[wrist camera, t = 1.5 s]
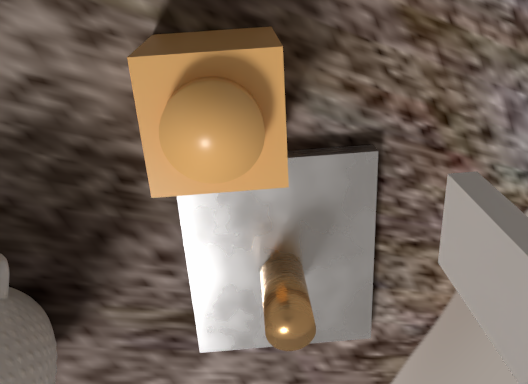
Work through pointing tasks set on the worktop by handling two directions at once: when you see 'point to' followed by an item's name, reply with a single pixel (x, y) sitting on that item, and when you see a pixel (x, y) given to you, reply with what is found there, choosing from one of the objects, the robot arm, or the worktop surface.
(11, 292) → the mug
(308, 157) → the plate with brass peg
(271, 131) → the cube with dome top
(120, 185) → the worktop surface
